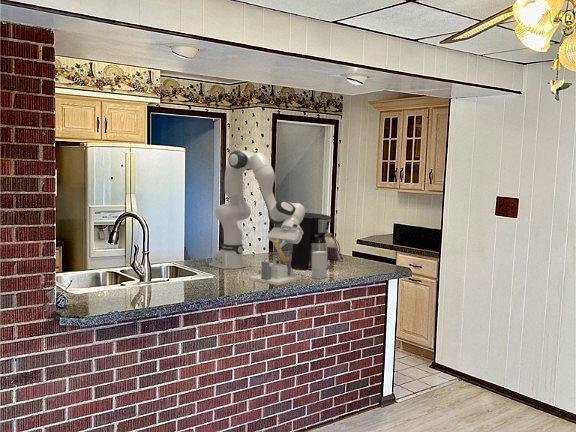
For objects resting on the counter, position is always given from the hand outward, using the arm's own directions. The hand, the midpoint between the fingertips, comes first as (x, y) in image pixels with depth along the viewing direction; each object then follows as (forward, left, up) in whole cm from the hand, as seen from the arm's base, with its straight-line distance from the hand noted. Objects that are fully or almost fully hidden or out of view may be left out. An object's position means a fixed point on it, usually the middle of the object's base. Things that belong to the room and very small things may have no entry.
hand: (278, 247), depth 299 cm
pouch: (-14, +76, -18) cm, 80 cm away
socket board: (0, -2, -18) cm, 18 cm away
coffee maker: (-10, +42, -18) cm, 47 cm away
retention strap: (0, +2, -3) cm, 4 cm away
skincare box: (+15, +19, -18) cm, 30 cm away
